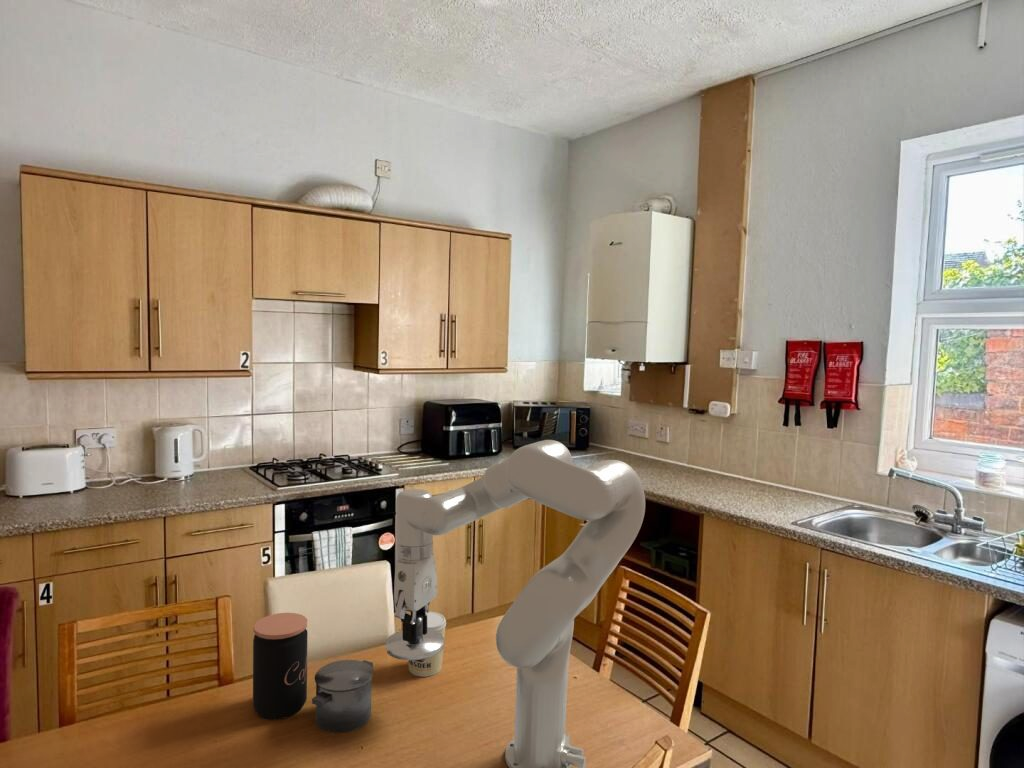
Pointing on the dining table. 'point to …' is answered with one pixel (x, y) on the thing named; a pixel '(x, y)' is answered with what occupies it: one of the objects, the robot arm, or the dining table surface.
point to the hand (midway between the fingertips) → (415, 636)
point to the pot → (343, 695)
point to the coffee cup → (435, 662)
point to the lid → (415, 644)
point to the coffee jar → (280, 665)
